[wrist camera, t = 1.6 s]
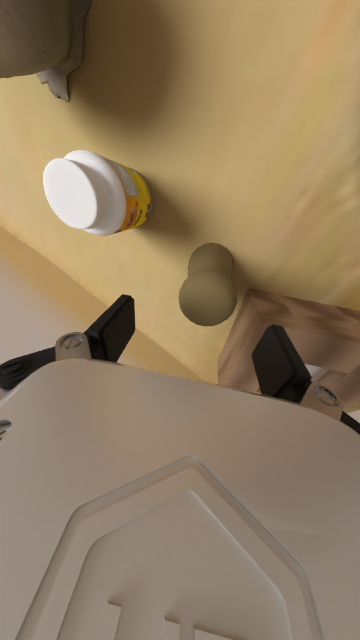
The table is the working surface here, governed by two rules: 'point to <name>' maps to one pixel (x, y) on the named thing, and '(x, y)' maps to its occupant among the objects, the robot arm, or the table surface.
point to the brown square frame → (295, 342)
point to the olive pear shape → (209, 286)
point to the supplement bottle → (96, 193)
